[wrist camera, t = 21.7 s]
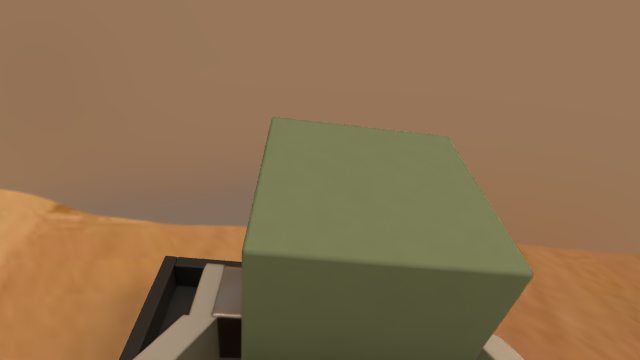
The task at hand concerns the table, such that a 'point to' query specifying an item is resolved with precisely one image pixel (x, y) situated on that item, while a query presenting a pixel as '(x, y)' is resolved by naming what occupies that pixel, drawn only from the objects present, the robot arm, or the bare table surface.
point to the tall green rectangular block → (371, 249)
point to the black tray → (168, 301)
